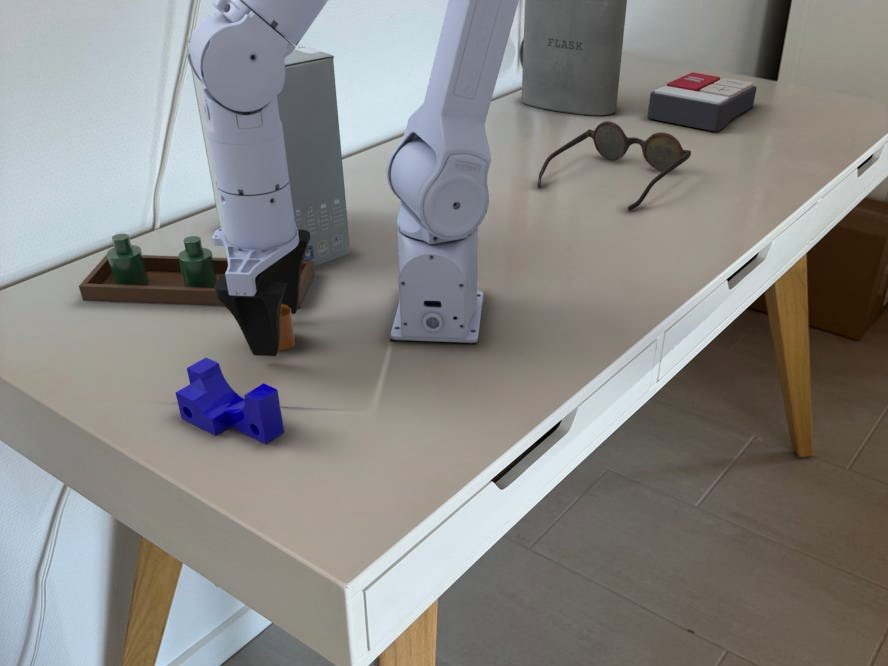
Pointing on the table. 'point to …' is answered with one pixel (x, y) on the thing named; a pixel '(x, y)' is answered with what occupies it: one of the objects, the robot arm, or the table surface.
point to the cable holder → (228, 404)
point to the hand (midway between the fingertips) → (275, 332)
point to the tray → (165, 284)
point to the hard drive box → (306, 151)
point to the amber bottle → (286, 328)
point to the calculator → (701, 101)
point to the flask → (573, 55)
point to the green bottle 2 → (197, 264)
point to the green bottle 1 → (127, 262)
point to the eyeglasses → (614, 144)
